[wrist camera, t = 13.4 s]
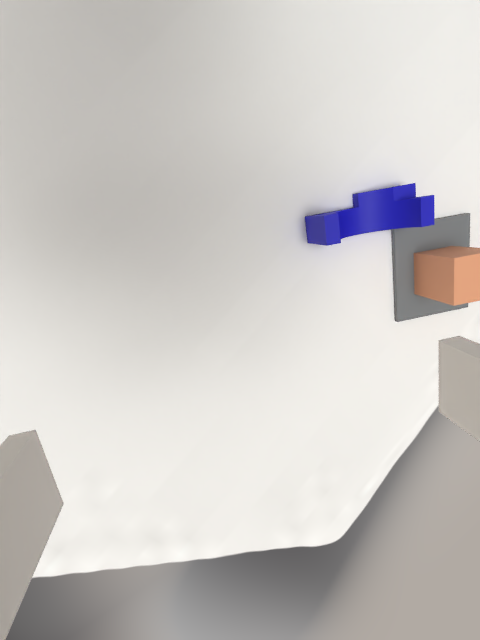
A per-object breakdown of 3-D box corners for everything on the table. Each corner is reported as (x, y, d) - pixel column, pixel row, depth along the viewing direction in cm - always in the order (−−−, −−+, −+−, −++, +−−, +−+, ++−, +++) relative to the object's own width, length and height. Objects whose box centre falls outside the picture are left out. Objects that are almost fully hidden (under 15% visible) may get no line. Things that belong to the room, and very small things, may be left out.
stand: (391, 227, 43) (423, 227, 37) (466, 213, 44) (509, 211, 38) (395, 320, 46) (425, 334, 40) (464, 305, 47) (503, 317, 41)
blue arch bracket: (399, 186, 42) (433, 179, 36) (400, 224, 43) (434, 224, 37) (302, 203, 40) (322, 199, 35) (307, 242, 42) (326, 245, 36)
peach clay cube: (413, 253, 43) (454, 258, 37) (452, 245, 44) (498, 249, 37) (414, 294, 45) (453, 305, 38) (451, 286, 45) (496, 296, 39)
